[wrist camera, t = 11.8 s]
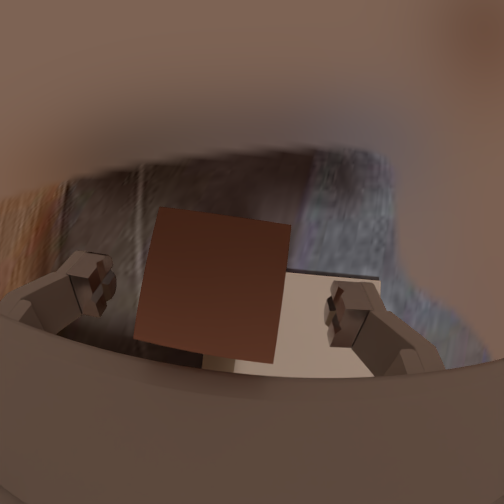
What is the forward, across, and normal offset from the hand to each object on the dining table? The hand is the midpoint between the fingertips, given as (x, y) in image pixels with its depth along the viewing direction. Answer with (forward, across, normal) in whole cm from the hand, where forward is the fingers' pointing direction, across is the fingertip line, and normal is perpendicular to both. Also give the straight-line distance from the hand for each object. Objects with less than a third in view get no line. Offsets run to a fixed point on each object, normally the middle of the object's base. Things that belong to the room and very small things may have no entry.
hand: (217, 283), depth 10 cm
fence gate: (+2, 0, +8) cm, 8 cm away
